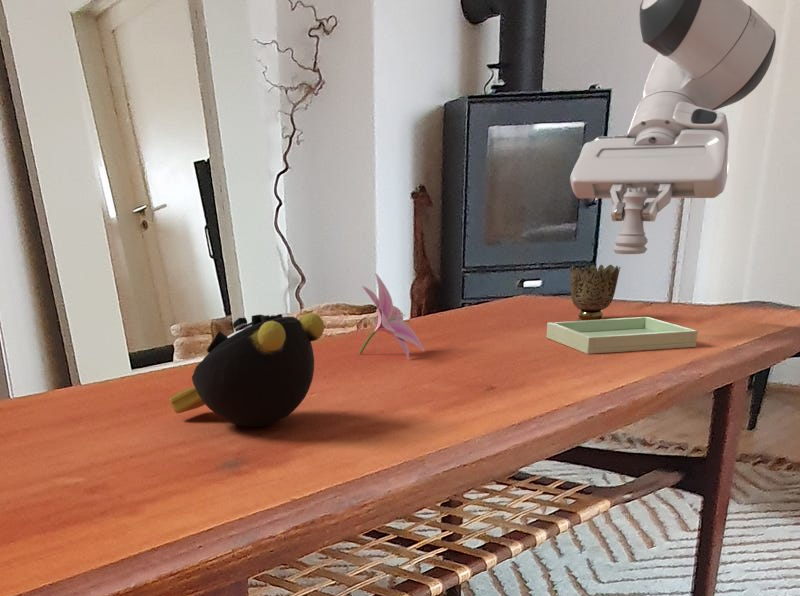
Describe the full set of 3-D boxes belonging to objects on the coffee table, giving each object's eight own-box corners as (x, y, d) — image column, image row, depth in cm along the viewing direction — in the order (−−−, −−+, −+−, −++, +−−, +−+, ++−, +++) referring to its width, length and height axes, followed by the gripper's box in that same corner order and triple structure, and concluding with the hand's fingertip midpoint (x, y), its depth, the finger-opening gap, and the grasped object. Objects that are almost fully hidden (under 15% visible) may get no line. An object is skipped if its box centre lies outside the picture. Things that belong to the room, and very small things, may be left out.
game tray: (646, 331, 142) (647, 316, 141) (695, 347, 130) (698, 330, 129) (546, 337, 139) (547, 322, 138) (587, 354, 127) (588, 337, 126)
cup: (563, 316, 156) (567, 264, 153) (610, 316, 156) (615, 263, 152) (569, 324, 150) (573, 269, 146) (618, 323, 149) (623, 268, 145)
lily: (370, 374, 124) (408, 306, 120) (313, 329, 129) (348, 262, 125) (421, 388, 133) (458, 325, 129) (366, 345, 139) (400, 283, 134)
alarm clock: (263, 439, 107) (318, 308, 102) (288, 480, 95) (351, 334, 89) (163, 400, 103) (214, 262, 98) (174, 438, 90) (234, 282, 85)
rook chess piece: (606, 253, 131) (613, 188, 128) (622, 250, 134) (629, 187, 130) (637, 254, 128) (644, 188, 125) (652, 252, 131) (660, 187, 128)
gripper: (583, 119, 134) (552, 200, 131) (738, 113, 124) (710, 200, 121) (589, 155, 139) (561, 233, 136) (739, 151, 130) (712, 236, 127)
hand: (632, 218), depth 129 cm, fingers closed on rook chess piece, 3 cm apart
